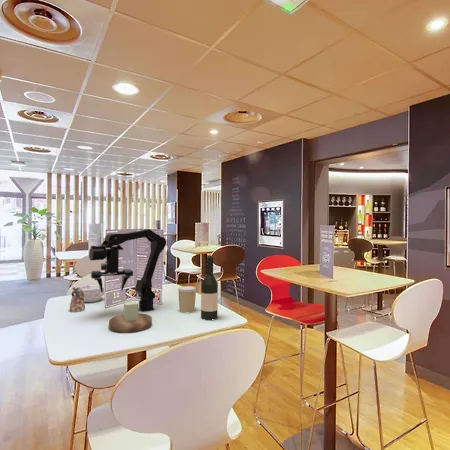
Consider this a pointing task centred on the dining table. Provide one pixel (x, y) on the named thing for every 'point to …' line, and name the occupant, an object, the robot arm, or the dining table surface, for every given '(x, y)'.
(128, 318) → the sage block
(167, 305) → the dining table surface
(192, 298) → the coffee cup
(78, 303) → the figurine
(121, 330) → the walnut base
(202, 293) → the wine bottle
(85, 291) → the paper bowls
